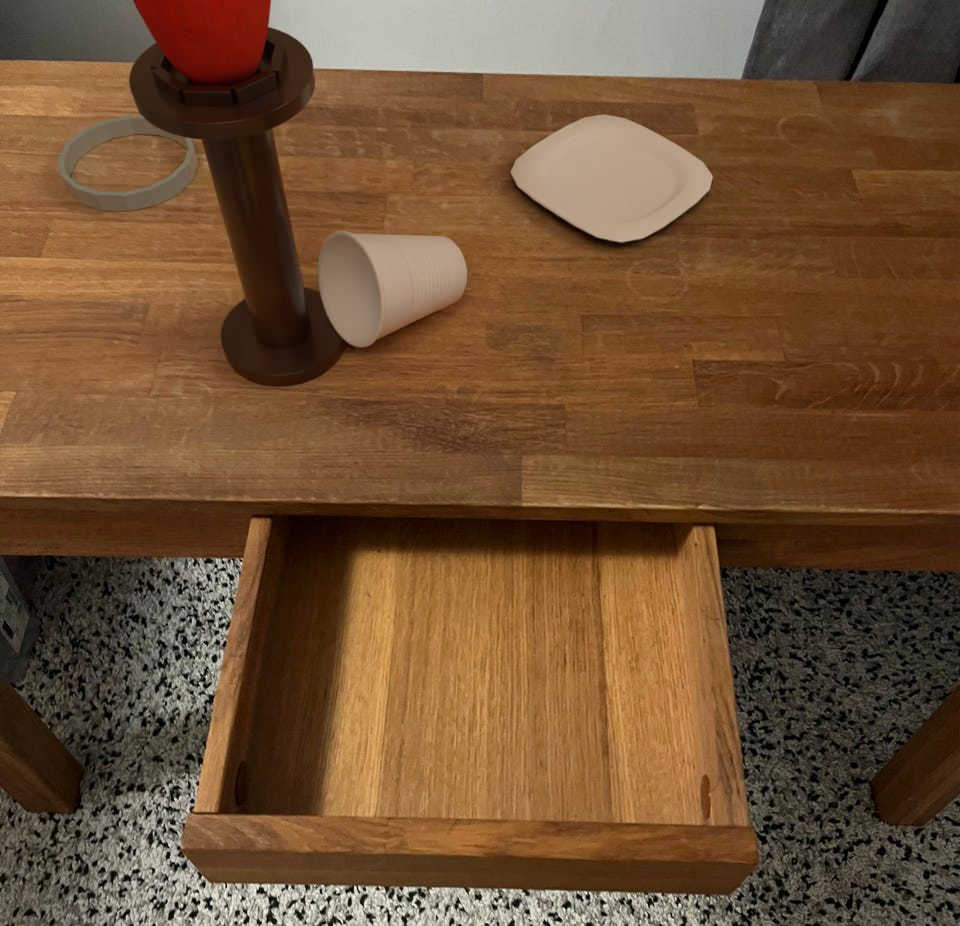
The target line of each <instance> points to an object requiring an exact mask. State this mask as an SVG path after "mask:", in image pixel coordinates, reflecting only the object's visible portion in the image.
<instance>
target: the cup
mask: <svg viewBox="0 0 960 926" xmlns="http://www.w3.org/2000/svg"><path fill="white" fill-rule="evenodd" d="M318 255H319V256H318V260H317V282H318V285H317V286H318V289H319V290H318V291H319V292H320V296H321V299H322V303H323V306H324V309H325V311H326V314H327V316H328V318H329V320H330V322H331V324H332V326H333V327H334V329H335V330H336V332H337V333H338V334H339V335H340V336H341V337H342V338H343V339H344V340H345V341H346V344H349V345H351V346H353V347H355V348H362V349H363V348H366V347H367V348H368V347H370V346H371V345H372V344H374V343H375V342H376V341H377V340H379V339H381V338H383V337H386V336H387V335H389V334H392V333H393V332H396V331H398V330H400V329H402V328H404V327H406V326H408V325H410V324H412V323H414V322H417V321H418V320H421V319H422V318H425V317H427V316H429V315H431V314H433V313H435V312H438V311H440V310H442V309H444V308H447V307H449V306H451V305H453V304H455V303H457V302H459V300H460V299H461V298H462V297H463V295H464V293H465V291H466V287H467V283H468V269H467V268H468V267H467V263H466V260H465V257H464V255H463V252H462V251H461V248H460V247H458V245H457V244H456V243H455V242H454V241H453V240H452V239H451V238H450V237H449V238H448V237H447V236H444V235H425V234H424V235H419V234H418V235H416V234H415V235H414V234H413V235H412V234H384V233H383V234H381V233H357V232H356V233H353V232H350V231H346V230H336V231H334V232H331V233H330V234H329V235H328V236H327V237H326V238H325V239H324V241H323V243H322V244H321V248H320V250H319V254H318Z"/></svg>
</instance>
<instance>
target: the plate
mask: <svg viewBox="0 0 960 926" xmlns="http://www.w3.org/2000/svg"><path fill="white" fill-rule="evenodd" d="M510 176H511V177H512V180H513V181H514V184H515V185H516V187H517V189H519V190H520V191H521V192H522V193H524V194H525V195H526V196H527V197H528V198H530V200H532V201H533V202H535V203H536V204H537V205H538V206H540V207H542V208H544V209H545V210H547V211H548V212H550V213H551V214H552V215H554V216H556V217H558V219H561V220H562V221H564V222H566V223H567V224H569V225H570V226H571V227H573V228H575V229H577V230H579V231H581V232H583V233H585V234H587V235H589V236H591V237H593V238H595V239H597V240H601V241H605V242H611V243H615V244H621V245H622V244H626V243H632V242H637V241H643V240H645V239H646V238H648V237H650V236H653V235H654V234H656V233H657V232H659V231H661V230H663V229H665V228H666V227H667V226H669V225H670V224H671V223H673V222H675V221H676V220H677V219H678V218H680V217H681V216H682V215H683V214H685V213H687V212H688V211H689V210H691V209H692V208H694V206H696V205H697V204H698V203H699V202H700V201H701V200H702V199H703V198H704V197H705V196H706V195H707V194H708V193H709V192H710V190H711V186H712V182H713V178H714V176H713V174H712V172H711V171H710V169H709V168H708V166H707V165H706V163H704V162H703V161H702V160H701V159H699V158H698V157H696V156H695V155H694V154H692V153H691V152H690V151H689V150H686V148H683V147H682V146H680V145H679V144H676V143H675V142H673V141H671V140H670V139H668V138H666V137H665V136H662V135H660V134H658V133H657V132H656V131H653V130H652V129H649V128H648V127H645V126H643V125H641V124H639V123H637V122H635V121H632V120H630V119H627V118H626V117H620V116H615V115H609V114H597V115H591V116H585V117H583V118H580V119H578V120H576V121H574V122H572V123H569V124H567V125H565V126H563V127H562V128H560V129H558V130H556V131H555V132H553V133H552V134H550V135H548V136H546V137H545V138H544V139H542V140H541V141H540V140H539V142H537V143H535V144H534V145H532V146H531V147H529V148H528V149H527V150H526V151H525V152H523V153H522V154H521V155H519V157H517V158H516V159H515V161H514V164H513V166H512V168H511V170H510Z"/></svg>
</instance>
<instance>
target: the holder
mask: <svg viewBox="0 0 960 926" xmlns="http://www.w3.org/2000/svg"><path fill="white" fill-rule="evenodd" d="M128 78H129V79H128V83H129V89H130V92H131V95H132V99H133V101H134V105H135V106H136V109H137V111H138V112H139V114H140V116H143V117H144V118H145V119H146V120H147V121H148V122H149V123H151V124H152V125H154V126H155V127H157V128H159V129H161V130H163V131H165V132H168V133H171V134H174V135H177V136H181V137H186V138H191V140H192V139H193V140H201V144H202V147H203V151H204V154H205V159H206V161H207V166H208V169H209V173H210V176H211V180H212V183H213V187H214V191H215V194H216V198H217V202H218V205H219V209H220V213H221V216H222V219H223V223H224V227H225V230H226V231H225V232H226V234H227V238H228V241H229V245H230V249H231V253H232V256H233V260H234V263H235V267H236V270H237V274H238V278H239V282H240V286H241V289H242V292H243V295H244V299H242V300H240V301H239V302H238V303H237V304H235V306H233V308H231V310H230V311H229V312H228V313H227V315H226V316H225V318H224V320H223V323H222V325H221V330H220V343H221V346H222V350H223V353H224V356H225V358H226V362H227V363H228V365H229V366H230V367H231V368H232V370H234V372H235V373H236V374H238V375H239V376H241V377H242V378H244V379H245V380H248V381H250V382H252V383H255V384H258V385H260V386H261V385H262V386H266V387H267V386H268V387H289V386H290V387H291V386H296V385H301V384H303V383H307V382H310V381H312V380H314V379H316V378H319V377H320V376H322V375H324V374H325V373H326V372H327V371H329V370H330V369H332V367H333V366H334V365H335V364H336V363H337V362H338V361H339V360H340V358H341V356H342V355H343V353H344V351H345V349H346V344H347V342H346V341H345V340H344V339H343V338H342V337H341V336H340V335H339V334H338V333H337V332H336V330H335V329H334V327H333V326H332V324H331V322H330V320H329V318H328V316H327V314H326V311H325V309H324V306H323V303H322V299H321V296H320V291H319V290H315V289H312V288H309V287H305V285H304V282H303V276H302V272H301V266H300V261H299V257H298V251H297V246H296V242H295V237H294V236H295V235H294V231H293V226H292V220H291V216H290V209H289V207H288V201H287V196H286V190H285V185H284V180H283V175H282V170H281V166H280V161H279V160H280V159H279V155H278V150H277V145H276V140H275V135H274V128H277V127H279V126H281V125H283V124H284V123H287V122H288V121H290V120H292V118H294V117H295V116H297V115H298V114H299V113H300V112H301V111H302V110H303V109H304V108H305V107H306V106H307V105H308V104H309V102H310V100H311V98H312V97H313V95H314V91H315V88H316V76H315V68H314V62H313V58H312V55H311V53H310V51H309V50H308V49H307V47H305V45H304V44H303V43H302V42H301V41H299V40H298V39H297V38H296V37H294V36H292V35H291V34H289V33H287V32H284V31H282V30H279V29H277V28H273V27H270V26H268V30H267V35H266V41H265V46H264V50H263V55H262V59H261V63H260V65H259V67H258V69H257V70H256V72H255V74H253V75H252V76H250V77H249V78H247V79H246V80H243V81H241V82H239V83H236V84H234V85H229V86H199V85H195V84H194V83H192V82H191V81H190V80H189V79H187V78H186V77H185V76H184V75H182V74H181V73H180V72H179V71H178V70H177V69H176V68H175V67H174V66H173V65H172V64H171V62H170V61H169V60H168V59H167V57H166V56H165V55H164V54H163V53H162V51H161V50H160V48H159V46H158V45H157V43H156V42H155V43H153V44H152V45H150V46H149V47H148V48H147V49H145V50H144V51H143V52H142V53H141V54H140V55H139V56H138V58H137V59H136V60H135V61H134V63H133V65H132V67H131V69H130V72H129V77H128Z"/></svg>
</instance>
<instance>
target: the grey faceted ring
mask: <svg viewBox="0 0 960 926" xmlns="http://www.w3.org/2000/svg"><path fill="white" fill-rule="evenodd" d="M133 135H149V136H150V135H151V136H152V135H153V136H154V135H155V136H156V135H157V136H160V137H163V138H167V139H169V140H172V141H176V142H177V143H178V144H180V145H181V146H182V147H183V148H185V150H187V151H186V154H185V157H184V160H183V162H182V163H181V164H180V165H179V166H178V167H177V168H176V169H175V170H174V171H173V172H172V173H171V174H170V175H169V176H167V177H165V178H163V179H160V180H159V181H157V182H155V183H153V184H150V185H148V186H144V187H140V188H135V189H130V190H126V191H110V190H109V191H107V190H103V191H102V190H96V189H93V188H90V187H88V186H84V185H81V184H78V182H76V181H75V180H74V179H73V178H72V177H71V175H72V173H73V171H74V168H75V167H76V164H77V162H78V161H79V160H80V159H81V158H82V157H83V156H85V154H86V153H88V152H89V151H90V150H91V149H93V148H95V147H97V146H100V145H102V144H105V143H106V142H108V141H110V140H112V139H118V138H123V137H128V136H133ZM57 164H58V170H59V175H60V177H61V180H62V182H63V184H64V186H65V189H66V191H67V192H68V193H69V194H70V195H71V196H72V197H73V198H74V199H75V200H76V201H78V202H79V203H80V204H81V205H83V206H87V207H90V208H93V209H97V210H99V211H102V212H133V211H137V210H141V209H147V208H150V207H151V208H152V207H154V206H158V205H160V204H161V203H163V202H165V201H168V200H169V199H171V198H174V197H175V196H177V195H179V194H180V193H181V192H183V190H184V189H185V188H186V187H187V186H189V184H190V183H191V182H192V181H193V180H194V179H195V175H196V173H197V169H198V167H199V160H198V156H197V153H196V149H195V146H194V143H193V140H192V138H186V137H181V136H177V135H174V134H171V133H168V132H165V131H163V130H161V129H159V128H157V127H155V126H154V125H152V124H151V123H149V122H148V121H147V120H146V119H145V118H144V117H143V116H142V115H139V114H138V115H136V114H135V115H134V114H128V115H124V116H119V117H114V118H108V119H104V120H101V121H100V122H97V123H95V124H92V125H90V126H88V127H87V128H83V129H81V130H80V131H78V132H77V134H75V135H74V136H73V137H72V138H71V139H69V140H68V141H67V142H65V143H64V145H63V148H62V149H61V152H60V154H59V155H58V158H57Z"/></svg>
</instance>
